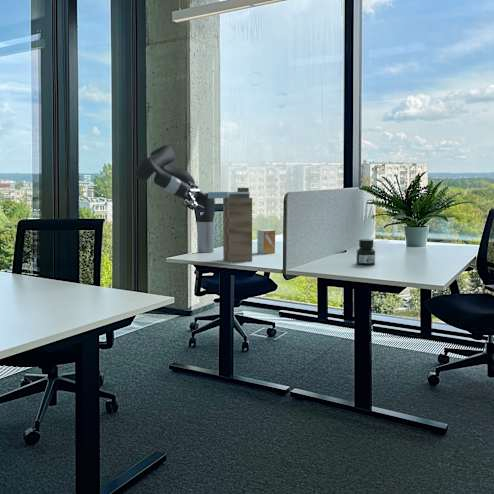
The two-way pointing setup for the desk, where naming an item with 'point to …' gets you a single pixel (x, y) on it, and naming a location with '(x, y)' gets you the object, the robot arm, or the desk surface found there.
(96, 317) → the desk surface
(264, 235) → the small box
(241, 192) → the pale blue long bar
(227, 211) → the stand
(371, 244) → the ink bottle
